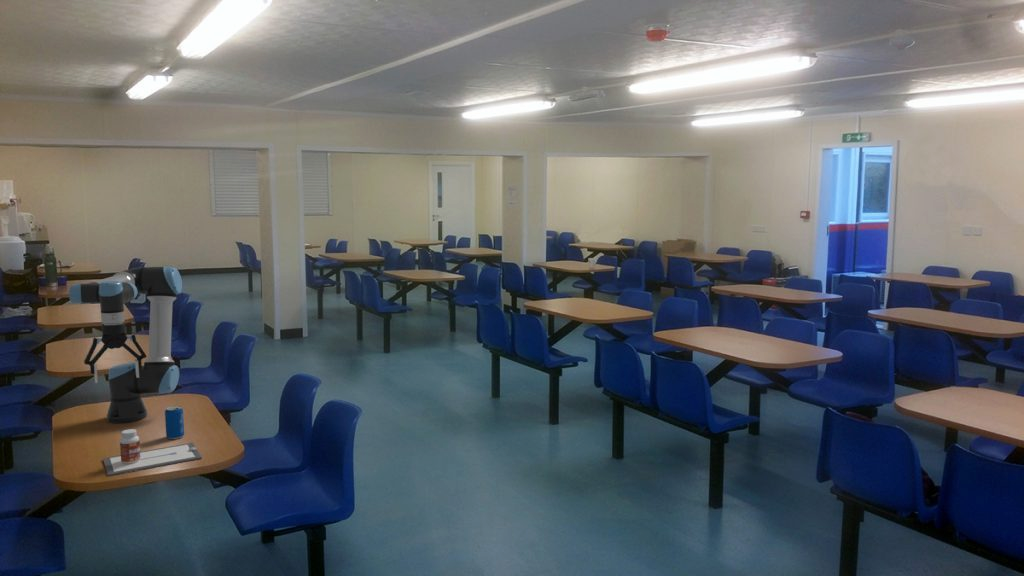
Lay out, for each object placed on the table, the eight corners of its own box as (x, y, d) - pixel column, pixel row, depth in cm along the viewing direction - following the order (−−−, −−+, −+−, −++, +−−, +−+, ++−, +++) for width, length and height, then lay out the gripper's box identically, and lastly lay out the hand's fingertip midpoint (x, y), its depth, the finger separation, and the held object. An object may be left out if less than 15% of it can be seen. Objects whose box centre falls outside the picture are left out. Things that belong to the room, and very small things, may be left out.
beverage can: (177, 440, 286) (175, 410, 284) (162, 439, 287) (160, 409, 285) (188, 435, 292) (186, 405, 290) (173, 433, 293) (171, 404, 291)
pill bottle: (131, 465, 258) (128, 434, 257) (117, 463, 260) (114, 433, 259) (144, 459, 264) (142, 429, 263) (131, 457, 266) (128, 427, 264)
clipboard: (103, 459, 265) (102, 456, 265) (192, 444, 282) (192, 440, 281) (108, 476, 250) (107, 472, 250) (201, 458, 267) (201, 455, 267)
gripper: (74, 328, 260) (79, 386, 263) (152, 321, 274) (155, 377, 277) (73, 325, 266) (77, 382, 269) (149, 318, 280) (152, 372, 283)
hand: (117, 379), depth 273 cm, fingers open, 13 cm apart
